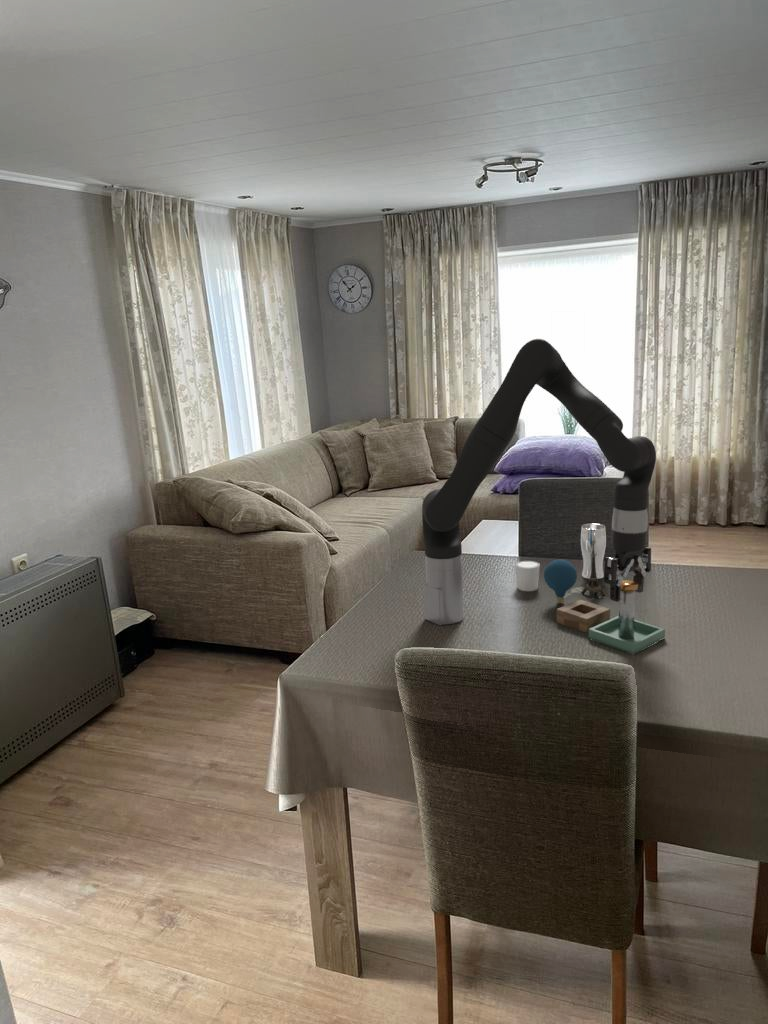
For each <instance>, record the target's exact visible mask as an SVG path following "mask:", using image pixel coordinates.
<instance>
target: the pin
mask: <svg viewBox="0 0 768 1024" xmlns="http://www.w3.org/2000/svg"><path fill="white" fill-rule="evenodd" d="M620 586H621V594H620V601H618V603H619V605H618V616H619V633H618V637H619V638H621V639H624V640H631V639H633V638H634V620H635V611H636V610H635V609H636V592H635V590H637V589H638V583H636V582H634V581H633V580H624V579H623V580H622V582H621V585H620Z"/></svg>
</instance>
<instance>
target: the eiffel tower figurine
mask: <svg viewBox="0 0 768 1024" xmlns="http://www.w3.org/2000/svg"><path fill="white" fill-rule="evenodd" d="M592 556H593V560H592V570H591V576H590V579H588V582H587V583H586V584H585V586H579V587H572V588H570V589H571V590H570V592H566V593H565V596H564V599H566V598H567V597H568V596H571V595H572V594H573V593H575V594H579V595H580V596H582V597H583V598H585V599H587V600H588V601H594V600H598V599H599V597H601V598H600V599H603V598H602V597H606V598H608V596H607V595H606V594H605V591H603V590H605V589H603V588H601V585H600V584H599V581H598V579H597V577H596V568H595V554H594V553H593V555H592Z"/></svg>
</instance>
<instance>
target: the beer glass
mask: <svg viewBox="0 0 768 1024" xmlns="http://www.w3.org/2000/svg"><path fill="white" fill-rule="evenodd" d="M580 547H581V548H580V550H581V555H582V561H583V565H582V566H583V567H582V573H581V576H582V578H584V579H587V580H589V579H590V576H591V570H592V560H593V556H592V555H593V553H594V554H595V568H596V577H597V580H601V579H604V568H603V567H604V566H603V564H604V563H603V562H604V559H605V558H604V557H605V553H606V552H605V551H606V547H607V533H606V526H605V524H602V523H601V524H600V523H594V522H593V523H584V524H582V525H581V531H580Z"/></svg>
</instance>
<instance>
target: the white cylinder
mask: <svg viewBox="0 0 768 1024" xmlns="http://www.w3.org/2000/svg"><path fill="white" fill-rule="evenodd" d="M540 565H541V563H540V562H537V561H534V560H521V561H518V562H516V563H515V564H514V566H515V575H516V585H517V586H516V587H517V589H518V590H519V591H522V592H534V591H537V590H538V588H539V578H540V567H541V566H540Z"/></svg>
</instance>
